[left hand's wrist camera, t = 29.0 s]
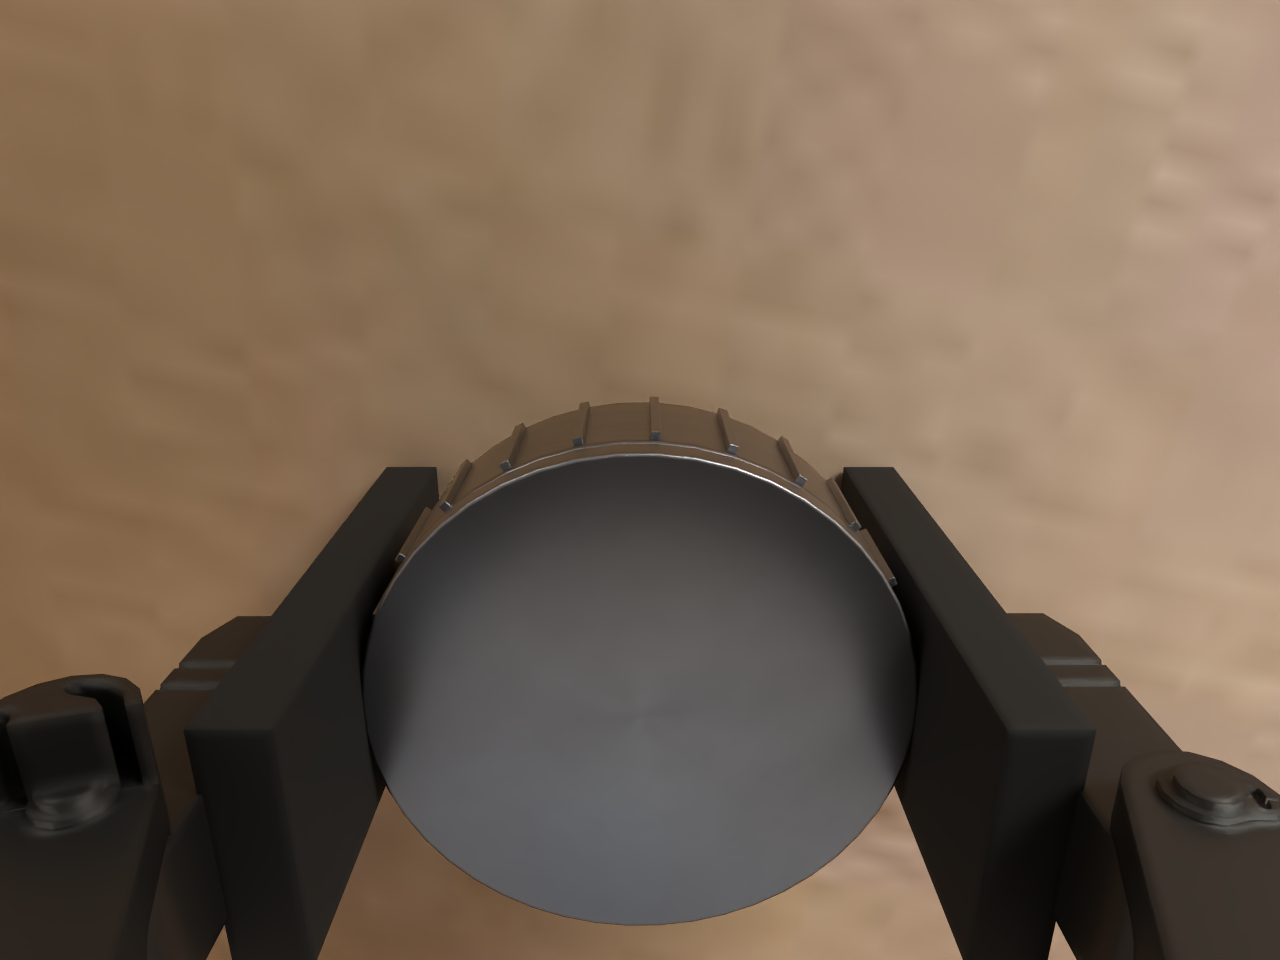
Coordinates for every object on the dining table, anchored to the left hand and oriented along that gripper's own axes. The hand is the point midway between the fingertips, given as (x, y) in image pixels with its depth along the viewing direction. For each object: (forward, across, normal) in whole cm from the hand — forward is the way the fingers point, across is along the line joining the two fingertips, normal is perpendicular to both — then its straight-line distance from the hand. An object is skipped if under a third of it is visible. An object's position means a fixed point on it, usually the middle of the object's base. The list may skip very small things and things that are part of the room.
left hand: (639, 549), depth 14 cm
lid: (-4, 0, 0) cm, 4 cm away
